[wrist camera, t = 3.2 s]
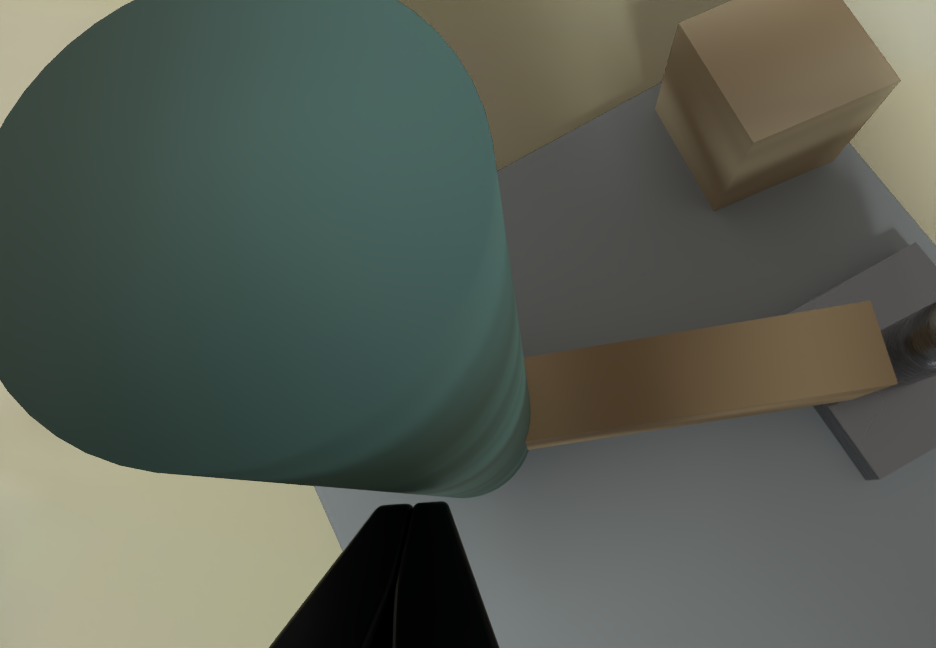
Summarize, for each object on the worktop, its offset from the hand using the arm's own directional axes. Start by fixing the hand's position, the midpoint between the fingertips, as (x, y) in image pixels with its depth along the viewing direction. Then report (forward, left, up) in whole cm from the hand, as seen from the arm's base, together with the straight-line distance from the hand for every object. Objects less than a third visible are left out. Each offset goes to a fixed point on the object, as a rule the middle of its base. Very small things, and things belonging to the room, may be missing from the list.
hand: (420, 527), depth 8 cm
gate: (+1, -4, -6) cm, 7 cm away
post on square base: (-1, -9, -6) cm, 11 cm away
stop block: (+5, -10, -6) cm, 13 cm away
